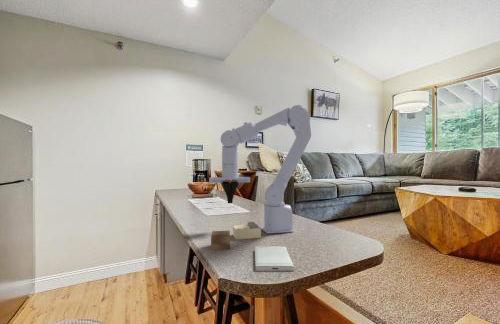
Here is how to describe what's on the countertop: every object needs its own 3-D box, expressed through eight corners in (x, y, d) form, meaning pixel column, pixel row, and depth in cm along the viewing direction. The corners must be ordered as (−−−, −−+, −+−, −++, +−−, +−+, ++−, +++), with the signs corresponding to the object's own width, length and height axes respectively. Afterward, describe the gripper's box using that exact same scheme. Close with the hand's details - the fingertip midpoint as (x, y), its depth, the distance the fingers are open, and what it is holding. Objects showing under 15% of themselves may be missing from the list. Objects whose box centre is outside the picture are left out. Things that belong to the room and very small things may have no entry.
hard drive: (254, 246, 61) (255, 265, 48) (285, 246, 61) (294, 265, 48) (254, 252, 61) (255, 273, 48) (285, 252, 61) (294, 273, 48)
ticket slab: (256, 233, 77) (256, 221, 77) (261, 237, 72) (261, 225, 72) (232, 234, 75) (232, 223, 76) (235, 239, 70) (235, 227, 70)
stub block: (229, 244, 66) (229, 230, 66) (229, 249, 62) (229, 234, 62) (211, 245, 65) (211, 230, 65) (211, 250, 61) (211, 234, 61)
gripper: (247, 165, 89) (247, 200, 88) (208, 165, 85) (208, 202, 85) (251, 164, 82) (251, 203, 81) (210, 164, 79) (209, 204, 78)
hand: (229, 203), depth 83 cm, fingers closed
